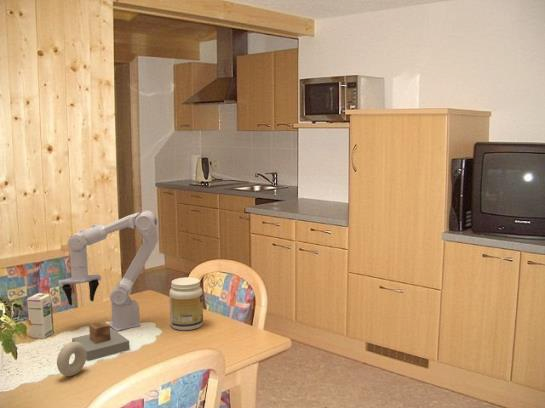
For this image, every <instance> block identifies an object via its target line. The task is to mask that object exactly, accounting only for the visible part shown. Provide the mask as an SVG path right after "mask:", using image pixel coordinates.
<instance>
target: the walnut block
mask: <svg viewBox="0 0 545 408" xmlns="http://www.w3.org/2000/svg"><path fill="white" fill-rule="evenodd" d="M88 327H89V334H90V339H91V340H92V341H93V342H94V343H100V342H104V341H108V340H110V329H111V327H110V325H109V323H107V322H106V321H99V322H94V323H90V324H89V326H88Z"/></svg>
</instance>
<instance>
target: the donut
mask: <svg viewBox="0 0 545 408" xmlns="http://www.w3.org/2000/svg"><path fill="white" fill-rule="evenodd" d="M73 354H74V358H73V361H72V362H71V363H70V358H71V357H72V355H73ZM86 355H87V353H86V349H85V347H84V346H83V345H82V344H81V343H79V342H72V341H71V342H69V343H66V344H65V345H63V347H62V348H61V349H60V351H59V352H58V355H57V359H56V367H57V370H58V371H59V373H60V374H62V375H63V376H65V377H72V376H75V375H77V374H78V373H80V372H81V370H82V369H83V367H84V366H85V364H86V362H87V360H86Z"/></svg>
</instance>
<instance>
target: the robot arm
mask: <svg viewBox="0 0 545 408" xmlns="http://www.w3.org/2000/svg"><path fill="white" fill-rule="evenodd" d="M125 228H128V229H129V228H130V229H132V230H133V229H137V230H138V231H139V232H140V233H141V235H142V236H141V237H142V239H143V242H142V244H141V246H140V247H139V249H138V251H137V252H136V255H135V256H134V258H133V259H132V261H131V263H130V265H129V266H128V268H127V270H126V272H125V273H124V275H123V277H122V279H121V281H119V282H118V283H116V285H115V287H114V288H113V290H112V291H111V292H110V295H109V300H110V301H111V302H110V303H111V304H110V305H111V306H110V307H111V319H112V320H111V322H110V323H108V324H109V325H110V328H111V329H114V330H115V331H116V332H118V331H122V330H126V329H131V328H134V327H138V326H139V327H140V326H141V321H140V305H139V303H138V301H137V300H136V299H132V298H131V297H130V296H131V295H132V291H133V286H134V284H135V283H136V280H137V278H138V277H139V275H140V273H141V272H142V270H143V268H144V267H145V265H146V263H147V261H148V260H149V258H150V256H151V254H152V252H153V251H154V249H155V247H156V246H157V244H158V242H159V239H160V238H159V237H160V236H159V220H158V218H157V216H156V214H155V212H154V211H152V210H149V209H146V210H143V211H141V212H136V213H132V214H129V215H127V216H124V217H122V218H120V219H117V220H116V221H115V220H114V221H112V222H110V223H108V224H105V225H103V224H96V223H94V224H92V225H91V227H88V228H87V229H84V230H83V229H81V230H79V231H78V232H76V233H74V234H73V235H71V236H70V237H69V238H68V240H67V245H68V248H69V249H70V254H69V255H70V257H69V258H70V271H71V272H70V274H71V277H68V278H65V279H59V280H58V287H59V288H61V289H62V290H63V291H64V293H65V296H66V298H67V302H68V305H70V306H72V305H73V298H72V295H73V294H72V290H73V288H72V287H71V286H73V285H77V284H84V283H88V289H89V300H90V301H91V302H94V299H95V295H96V292H97V289H98V287H99V285H100V281H102V276H101V275H100V274H99V273H98V274H89V267H88V253H87V252H88V251H87V246H91V245H94V244H96V243H99V242H101V241H105V240H106V239H107V237H108V235H109V234H112V233H115V232H118V231H120V230H123V229H125Z"/></svg>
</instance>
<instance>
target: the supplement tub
mask: <svg viewBox="0 0 545 408" xmlns="http://www.w3.org/2000/svg"><path fill="white" fill-rule="evenodd" d="M170 286H171V288H170V289H169V293H168V294H169V323H170V326H171V327H172V328H173V329H174V330H179V331H191V330H195V329H199V328H200V327H201V326H202V325H203V324H204V304H203V303H204V301H203V300H204V299H203V296H204V295H203V288H202V287H201V281H200V279H199V278H196V277H190V276H189V277H178V278H175V279H173V280H171V284H170Z"/></svg>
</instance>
